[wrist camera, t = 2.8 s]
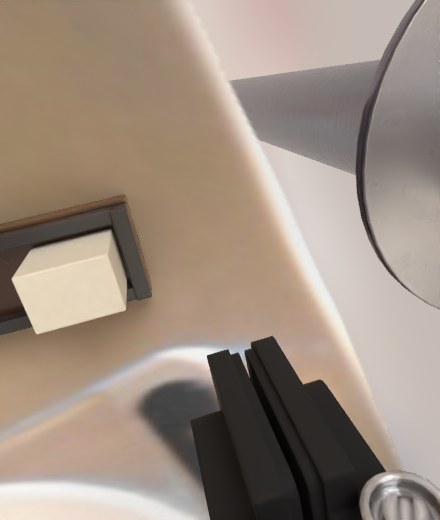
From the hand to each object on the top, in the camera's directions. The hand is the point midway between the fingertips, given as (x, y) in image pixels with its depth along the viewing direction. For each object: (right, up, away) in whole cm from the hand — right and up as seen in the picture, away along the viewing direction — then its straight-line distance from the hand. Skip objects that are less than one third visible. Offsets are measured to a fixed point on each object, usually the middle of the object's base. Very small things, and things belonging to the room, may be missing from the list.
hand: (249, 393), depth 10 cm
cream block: (-8, +3, +11) cm, 14 cm away
